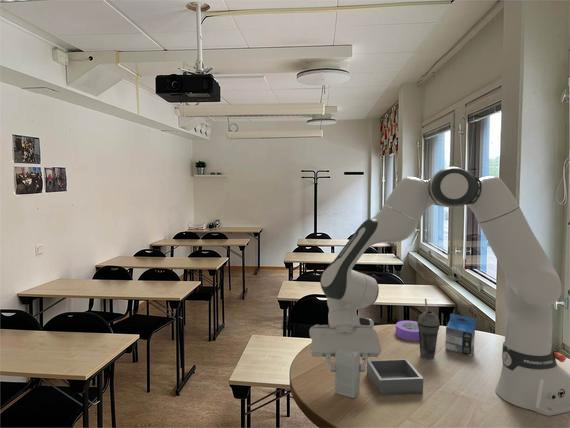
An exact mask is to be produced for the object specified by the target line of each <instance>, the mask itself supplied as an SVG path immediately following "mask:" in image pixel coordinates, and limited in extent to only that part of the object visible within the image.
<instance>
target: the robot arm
mask: <svg viewBox="0 0 570 428" xmlns="http://www.w3.org/2000/svg"><path fill="white" fill-rule="evenodd" d="M433 205H434V206H438V207H444V208H454V207H460V206H467V207H468V208H469V209H470V210H471V212H472V213H473V214H474V217H475V219H476V221H477V223H478V224H479V228H480V229H481V230H482V233H483V235H484V236H485V238H486V241H487V243H488V245H489V247H490V249H491V251H492V252H493V254H494V256H495V258H496V260H497V262H498V265H499V266H500V268H501V270H502V272H503V273H504V277H505V281H504V282H505V283H504V286H505V287H504V289H505V290H504V292H505V294H504V295H505V330H504V331H505V332H504V334H505V335H504V342H502V343H503V344H502V352H501V353H502V354H501V357H502V359H501V360H502V366H501V370H500V376H499V379H498V382H497V385H496V387H495V392H496V393H497V395H498V396H499V397H500V398H501V399H503V400H504V401H506V402H508V403H509V404H512V405H514V406H516V407H519V408H523V409H526V410H531V411H534V412H536V413H538V414H542V415H545V416H548V417H549V416H554V415H555V416H556V415H559V414H560V415H561V414H564V413H570V412H569V411H570V373H569V372H568V371H567V370H565V369H564V367H561V366H560V365H559V364H558V363H557V361H556V360H558V361H559V362H560V363H564V362H566V359H567V357H566V355H564V354H562V353H561V352H556V351H555V350H554V349H552V342H553V330H554V329H553V326H554V323H553V317H552V308H551V306H552V305H554V304H555V303H557V301H559V299H560V297H561V295H562V291H563V287H562V282H561V278H560V276H559V275H558V272H557V270H556V269H555V267H554V266H553V263H552V262H551V260H550V258H549V257H548V255H547V254H546V251H545V250H544V248H543V246H542V245H541V244H540V242H539V240H538V239H537V237H536V235H535V234H534V232H533V229H532V228H531V226H530V225H529V224H530V223H529V222H528V220H527V218H526V216H525V215H524V212H523V211H522V209H521V207H520V205H519V203H518V201H517V199H516V197H515V196H514V194H513V193H512V191H510V188H508V186H507V185H506V184H505V182H504V181H503V180H502V179H501V178H499V177H497V176H495V175H494V176H493V175H488V176H487V175H486V176H482V177H479V178H478V177H477V176H475V175H474V174H473V173H470V172H469V171H467V170H466V169H464V168H461V167H459V166H458V167H457V166H448V167H444V168H442V169H440V170H438V171H436V172H435V173H434V174H433V175H432V176H431V177H429V178H427V179H426V180H425V179H421V178H419V177H415V176H406V177H403V178H402V179H401V180H400V181H399V182H398V183H397V185H396V186H395V187H394V188H393V190H392V191H391V193H390V194H389V195H388V198H387V199H386V201H385V202H384V204H383V206H382V208H381V209H380V210H379V211H378V212H377V213H376V214H375V215H374V216H373V217H372V218H367V219H366V220H364V221H363V222H362V224H360V226H359V227H358V228H357V229H356V230H355V232H354V233H353V235H352V236H351V237H350V238H349V240H348V241H347V242H346V244H344V246H343V248H342V250H340V252H339V253H338V255H337V256H336V257H335V258H334V259H333V260H332V262H331V263H330V264H329V265H328V266H326V268H325V269H324V270H323V271H322V274H321V276H320V280H319V282H320V283H319V284H320V287H321V290H322V292H323V294H324V296H325V297H326V304H327V307H328V314H327V315H328V316H327V317H328V319H327V320H328V324H322V325H321V324H314V325H313V326H311V327H310V328H309V330H308V332H309V337H310V339H311V347H310V348H311V350H310V351H311V352H310V353H311V355H312V356H313V358H316V357H317V358H319V357H320V358H324V361H325V362H326V363H327V365H328V367H329V372H330V373H335V371H336V369H335V363H332V361H331V358H333V357H334V358H335V352H336V351H338V350H339V349H349V350H354V351H358V352H360V358H361V360H362V361H363V363H360V373H365V372H367V367H366V365H367V360H369V358H378V357H379V355H380V354H381V352H382V345H381V340H380V337H379V334H378V332H377V330H376V329H374V325H375V324H374V320H372V319H371V318H367V317H363V316H360V315H358V312H357V311H358V310H363V309H366V308H369V307H371V306H373V304H375V303H376V301H377V299H378V297H379V291H380V288H379V283H378V281H377V279H376V278H374V277H373V276H370V275H368V274H365V273H363V272H359V271H356V270H354V269H353V268H354V266H355V265H356V264H357V263H358V261H359V260H360V258H361V257H362V255H363V254H364V253H365V252H366V251H367V249H369V248H370V247H372V246H374V245H377V244H383V243H388V244H389V243H390V244H391V243H400V242H403V241H405V240H407V239H409V238H410V236H411V235H412V234H413V233H414V232H415V230H416V228H417V226H418V225H419V222H420V221H421V219H422V217H423V215H424V214H425V212H426V211H427V209H428V208H430V206H431V207H432V206H433Z"/></svg>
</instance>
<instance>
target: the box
mask: <svg viewBox="0 0 570 428" xmlns="http://www.w3.org/2000/svg"><path fill="white" fill-rule="evenodd" d="M366 375H367V378H368V379H369V380H370V382H371V383H372V385H373V387H374V388H375V390H376V392H377V394H378V395H379V396H380V397H381V396H401V395H402V396H403V395H422V394H424V379H425V378H424V377H423V376H422V375H421V374H420V373H419V371H418V370H417V369H416V368H415V367H414V365H413V364H412V363H411V362H410V361H409V360H408V358H389V359H388V358H387V359H367V362H366Z"/></svg>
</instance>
